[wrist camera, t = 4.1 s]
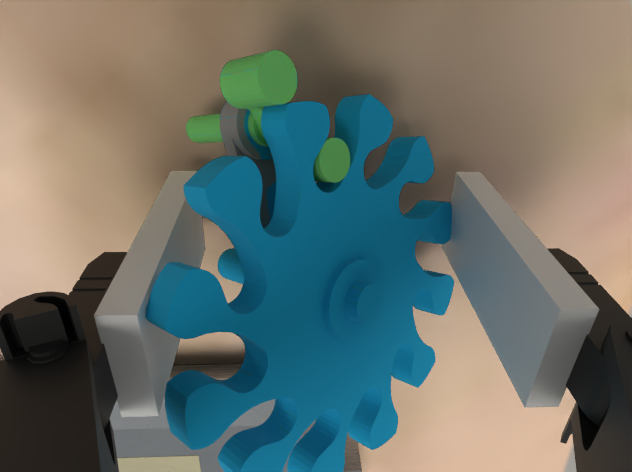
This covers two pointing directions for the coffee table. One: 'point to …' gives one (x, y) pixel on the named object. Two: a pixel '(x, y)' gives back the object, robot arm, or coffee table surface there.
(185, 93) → the coffee table surface
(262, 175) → the gear
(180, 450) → the gray metal tray
